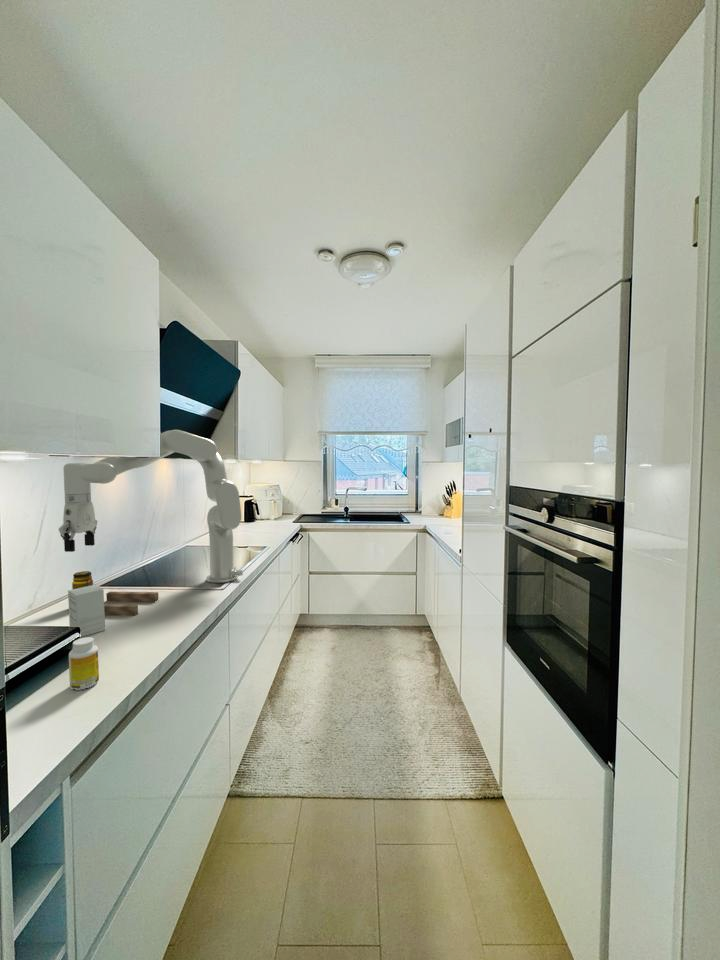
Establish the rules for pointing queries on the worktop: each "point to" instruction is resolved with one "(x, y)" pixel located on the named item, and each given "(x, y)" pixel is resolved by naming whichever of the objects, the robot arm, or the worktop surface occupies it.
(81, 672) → the supplement bottle
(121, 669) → the worktop surface
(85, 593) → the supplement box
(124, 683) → the worktop surface
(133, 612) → the channel
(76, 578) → the yellow and black cylinder
